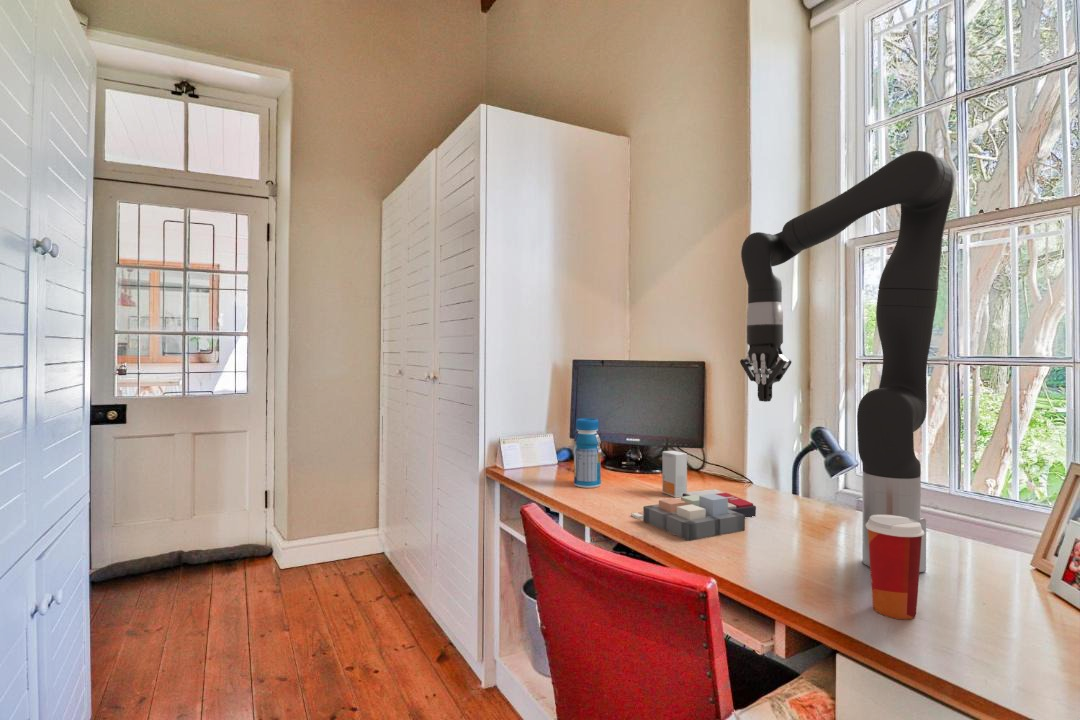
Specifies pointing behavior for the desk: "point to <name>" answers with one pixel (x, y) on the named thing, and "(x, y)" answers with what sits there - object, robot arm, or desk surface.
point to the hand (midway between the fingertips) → (764, 401)
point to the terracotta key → (670, 504)
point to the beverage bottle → (587, 454)
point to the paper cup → (894, 564)
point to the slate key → (714, 504)
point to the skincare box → (674, 473)
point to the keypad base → (694, 523)
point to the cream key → (691, 512)
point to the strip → (637, 515)
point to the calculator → (730, 502)
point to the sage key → (691, 500)
